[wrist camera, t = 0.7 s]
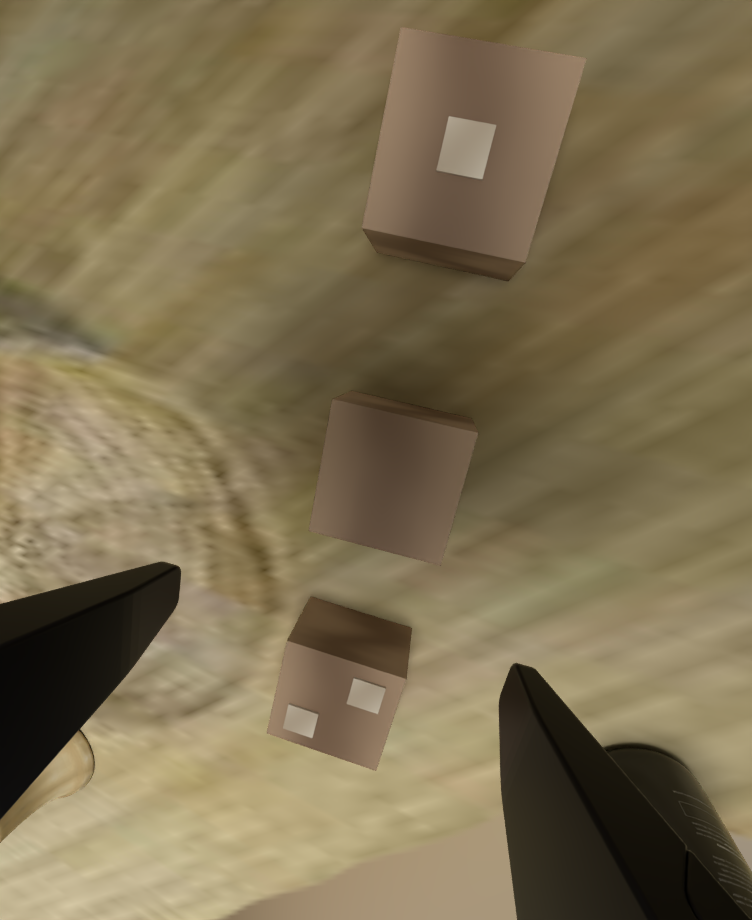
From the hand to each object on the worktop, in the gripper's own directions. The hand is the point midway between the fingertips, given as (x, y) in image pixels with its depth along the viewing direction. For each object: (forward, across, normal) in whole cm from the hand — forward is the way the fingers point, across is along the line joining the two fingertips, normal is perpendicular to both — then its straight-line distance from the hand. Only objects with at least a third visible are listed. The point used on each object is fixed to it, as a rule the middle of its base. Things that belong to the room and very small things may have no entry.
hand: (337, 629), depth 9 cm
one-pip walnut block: (+13, 0, -12) cm, 18 cm away
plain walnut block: (+13, 0, 0) cm, 13 cm away
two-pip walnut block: (+13, 0, +12) cm, 18 cm away
